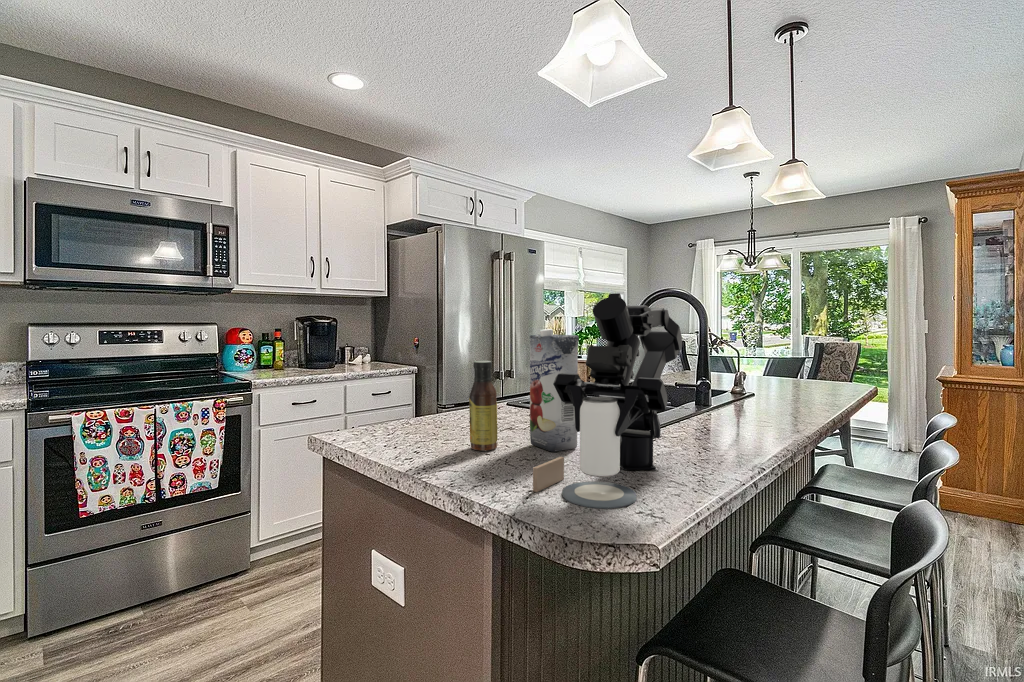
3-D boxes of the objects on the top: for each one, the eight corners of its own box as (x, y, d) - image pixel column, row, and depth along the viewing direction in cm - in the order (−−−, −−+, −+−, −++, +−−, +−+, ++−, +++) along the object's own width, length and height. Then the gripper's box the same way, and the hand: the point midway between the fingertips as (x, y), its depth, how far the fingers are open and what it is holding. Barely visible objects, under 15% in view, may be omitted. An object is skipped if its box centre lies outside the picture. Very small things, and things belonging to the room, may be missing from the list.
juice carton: (556, 440, 126) (556, 328, 125) (583, 449, 117) (583, 329, 116) (524, 444, 122) (524, 328, 121) (550, 454, 113) (550, 329, 112)
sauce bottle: (477, 444, 122) (477, 359, 121) (502, 446, 120) (501, 360, 119) (464, 450, 116) (464, 361, 115) (489, 453, 114) (489, 362, 113)
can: (600, 480, 81) (600, 403, 81) (571, 470, 86) (571, 398, 86) (628, 472, 85) (628, 399, 85) (599, 464, 90) (599, 395, 90)
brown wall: (560, 478, 95) (560, 456, 95) (563, 479, 95) (563, 457, 95) (533, 491, 88) (532, 467, 88) (536, 492, 88) (536, 468, 87)
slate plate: (625, 483, 92) (625, 480, 92) (646, 507, 80) (646, 503, 80) (557, 484, 91) (557, 481, 91) (568, 509, 79) (568, 505, 79)
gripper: (557, 328, 93) (528, 398, 84) (663, 328, 84) (644, 407, 74) (575, 368, 100) (550, 437, 91) (674, 372, 91) (658, 450, 82)
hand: (596, 432), depth 84 cm, fingers closed on can, 6 cm apart
